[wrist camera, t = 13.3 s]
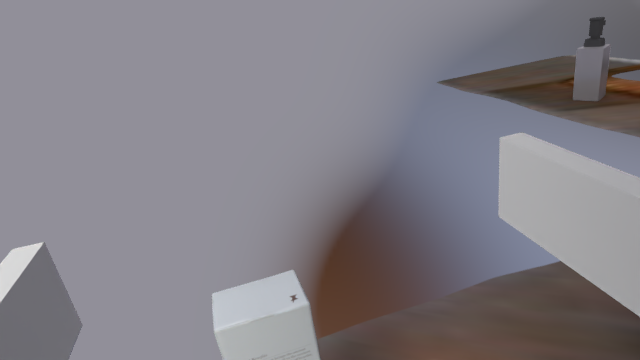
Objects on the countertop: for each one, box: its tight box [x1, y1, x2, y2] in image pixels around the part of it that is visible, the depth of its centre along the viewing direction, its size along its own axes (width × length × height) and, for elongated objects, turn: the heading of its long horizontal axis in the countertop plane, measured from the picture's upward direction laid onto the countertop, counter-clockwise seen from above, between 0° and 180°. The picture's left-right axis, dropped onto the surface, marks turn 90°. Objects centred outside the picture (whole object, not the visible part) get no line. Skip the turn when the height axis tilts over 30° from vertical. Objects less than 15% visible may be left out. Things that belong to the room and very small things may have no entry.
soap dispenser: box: [573, 17, 611, 101], centre depth 123 cm, size 6×9×22 cm
